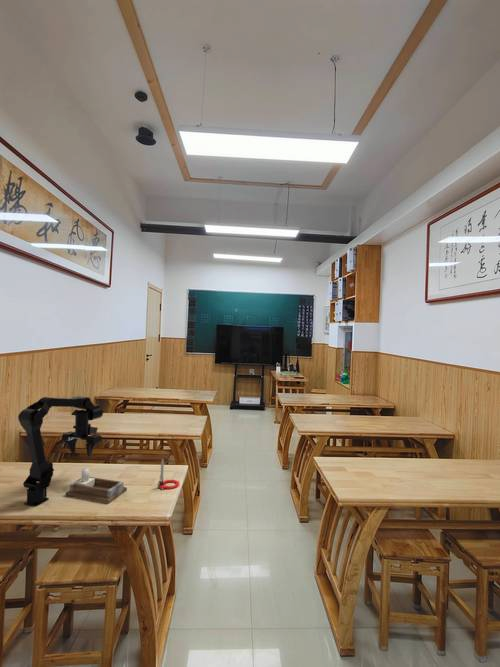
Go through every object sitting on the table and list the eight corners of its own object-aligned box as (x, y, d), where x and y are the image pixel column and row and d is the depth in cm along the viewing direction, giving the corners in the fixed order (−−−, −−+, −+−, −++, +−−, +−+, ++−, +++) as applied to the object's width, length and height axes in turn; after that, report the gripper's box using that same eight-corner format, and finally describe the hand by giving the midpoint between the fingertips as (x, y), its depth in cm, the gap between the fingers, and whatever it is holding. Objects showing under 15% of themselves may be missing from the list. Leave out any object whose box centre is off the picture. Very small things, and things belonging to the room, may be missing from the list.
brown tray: (108, 503, 136) (108, 493, 136) (65, 496, 142) (65, 485, 142) (126, 490, 148) (126, 480, 148) (86, 484, 154) (86, 474, 154)
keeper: (84, 491, 143) (85, 472, 143) (75, 489, 144) (75, 471, 144) (94, 485, 149) (94, 467, 149) (85, 483, 150) (85, 466, 150)
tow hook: (176, 480, 160) (157, 483, 156) (178, 454, 160) (159, 456, 156) (181, 488, 152) (161, 491, 148) (183, 460, 152) (162, 462, 148)
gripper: (109, 420, 163) (109, 451, 163) (79, 417, 168) (78, 447, 168) (93, 426, 152) (92, 459, 152) (61, 422, 157) (60, 455, 157)
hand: (81, 455), depth 157 cm, fingers open, 9 cm apart
